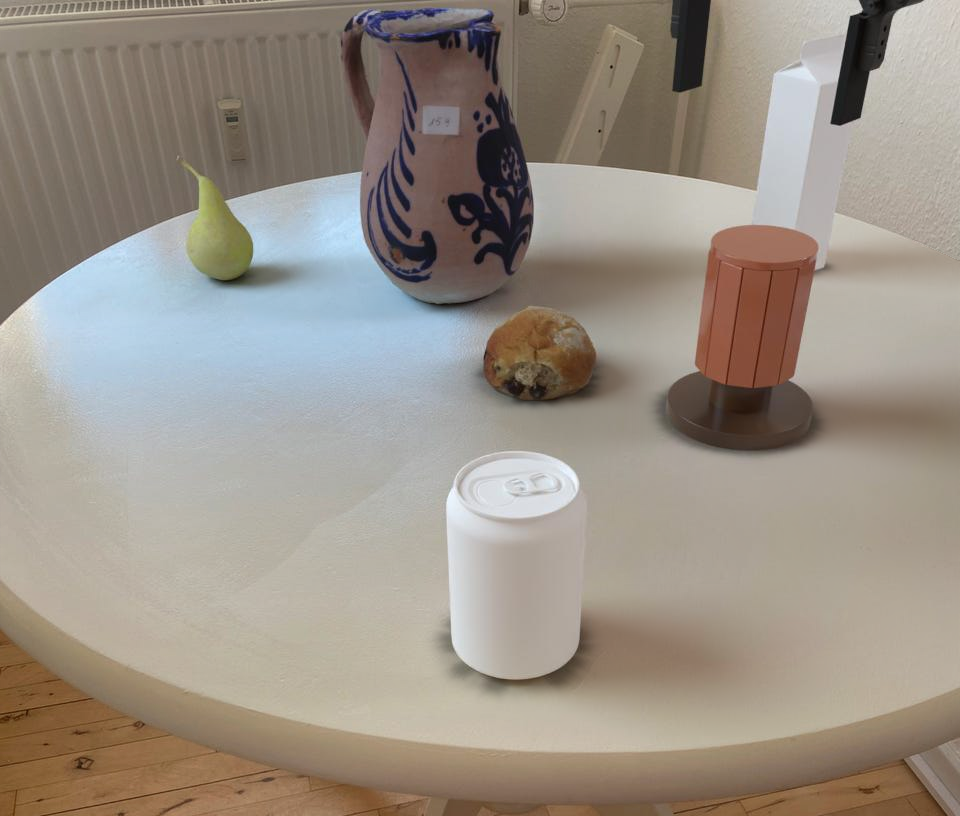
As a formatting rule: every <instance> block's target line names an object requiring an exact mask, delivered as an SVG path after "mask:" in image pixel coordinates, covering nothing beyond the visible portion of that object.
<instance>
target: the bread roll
mask: <svg viewBox="0 0 960 816" xmlns="http://www.w3.org/2000/svg"><path fill="white" fill-rule="evenodd" d="M596 362H597V352H596V349H595V347H594V343H593V342H592V340H591V338H590V336H589V334H588V333H587V331H586V329H585V328H584V327H583V325H582V324H581V323H579V321H577V320H576V319H575V318H574V317H573V316H571V315H570V314H568V313H567V312H564V311H562V310H560V309H558V308H557V309H556V308H553V307H546V306H538V305H528V306H527V307H525V308H524V309H523V310H519V311H518V312H516V313H514V314H512V315H511V316H509V317H508V318H507V319H506V320H504V322H503V323H502V324H500V325H498V326H496V327H495V328H494V330H493V331H492V333H491V335H490V336H489V338H488V340H487V341H486V346H485V350H484V354H483V374H484V377H485V379H486V382H487V383H488V384H489V385H490V386H491V388H493V390H495V391H496V392H498V393H501V394H504V395H506V396H509V397H510V398H513V399H518V400H521V401H541V400H542V401H543V400H544V401H545V400H554V399H558V398H561V397H566V396H571V395H574V394H577V393H578V392H579V390H582V389H583V388H585V387H586V386H587V385H588V384H589V383H590V380H591V379H592V376H593V373H594V369H595V366H596Z"/></svg>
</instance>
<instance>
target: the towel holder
mask: <svg viewBox="0 0 960 816" xmlns="http://www.w3.org/2000/svg"><path fill="white" fill-rule="evenodd" d="M813 411H814V404H813V401H812V398H811V397H810V395H809V394H808V393H807V391H806V390H804V389H803V388H802V387H800V386H799V385H798V384H797V383H795V382H793V381H791V380H790V379H789V380H787V381H785V382H783V383H782V384H780V385H776V386H768V387H760V388H753V387H752V388H746V387H737V386H729V385H727V384H726V385H724V384H722V383H719V382H717V381H714V380H712V379H710V378H707V377H705V376H704V375H703V374H702V373H701V372H700V371H699V370H698V371H694V372H690V373H689V374H686V375H684V376H682V377H680V378H679V379H677V380H676V381H675V382H673V383H672V384H671V386H670V388H669V390H668V391H667V397H666V405H665V416H666V418H667V420H668V422H669V424H670V425H671V426H672V427H673V428H674V429H675V430H677V431H678V432H679V433H680V434H682V435H684V436H686V437H687V438H689V439H691V440H693V441H697V442H698V443H701V444H704V445H707V446H710V447H714V448H719V449H725V450H731V451H732V450H733V451H748V452H749V451H766V450H772V449H777V448H781V447H784V446H787V445H790V444H792V443H794V442H797V441H798V440H799V439H801V438H802V437H804V435H805V434H807V432H808V430H809V428H810V425H811V420H812V415H813Z"/></svg>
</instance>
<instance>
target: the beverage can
mask: <svg viewBox="0 0 960 816" xmlns="http://www.w3.org/2000/svg"><path fill="white" fill-rule="evenodd" d="M448 493H449V494H447V495H448V496H447V499H446V503H445V505H446V506H445V515H446V539H447V563H448V565H447V566H448V584H449V585H448V586H449V607H450V608H449V609H450V611H449V612H450V633H451V644H452V647H453V649H454V652H455V653H456V654H457V656H458V657H459V658H460V659H461V661H462V662H464V663H465V664H466V665H467V666H468V667H470V668H471V669H473V670H474V671H477V672H478V673H481V674H484V675H485V676H490V677H493V678H497V679H502V680H504V679H505V680H529V679H534V678H539V677H542V676H545V675H548V674H551V673H552V672H553V673H554V672H555V671H557V670H559V669H561V668H562V667H563V666H565V665H566V664H567V663H568V662H569V661H570V660H571V659H572V658H573V657H574V655H575V654H576V652H577V650H578V648H579V644H580V638H581V637H580V636H581V635H580V634H581V620H582V619H581V618H582V604H583V602H582V601H583V584H584V571H585V570H584V569H585V551H586V535H587V519H588V501H587V497H586V495H585V492H584V490H583V489H582V487H581V483H580V478H579V476H578V475H577V473H576V471H575V470H574V469H573V468H572V467H571V466H570V465H568V464H567V463H566V462H564V461H562V460H561V459H558V458H555V457H554V456H551V455H548V454H544V453H539V452H535V451H524V450H509V451H500V452H494V453H490V454H486V455H483V456H480V457H477V458H475V459H472V460H471V461H469V462H468V463H466V464H465V465H464V466H463V467H461V469H459V471H458V472H457V474H456V476H455V478H454V481H453V485H452V487H451V489H450V491H449V492H448Z"/></svg>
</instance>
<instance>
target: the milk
mask: <svg viewBox="0 0 960 816" xmlns="http://www.w3.org/2000/svg"><path fill="white" fill-rule="evenodd" d="M845 39H846V36H845V33H837V34H833V35H828V36H823V37H819V38H813V39H808V40H804V41H803V43H802V45H801V49H800V56H799V59H798V60H796V61H794V62H791V63H790V64H789V65H786V66H784V67H782V68H781V69H779V70H777V71H776V72H774V74H773V79H772V84H771V91H770V98H769V106H768V111H767V118H766V126H765V131H764V138H763V145H762V152H761V158H760V165H759V173H758V179H757V185H756V186H757V187H756V193H755V199H754V206H753V212H752V213H753V214H752V218H751V225H770V226H778V227H784V228H789V229H793V230H796V231H799V232H802V233H804V234H806V235H808V236H810V237H812V238H813V239H814V240H815V241H816V242H817V243H818V246H819V249H818V254H817V260H816V265H815V270H814V271H818V270H820V269H823V268H825V266H826V265H825V264H826V260H827V254H828V249H829V246H830V240H831V234H832V230H833V225H834V220H835V216H836V209H837V204H838V199H839V194H840V189H841V183H842V179H843V174H844V168H845V165H846V164H845V163H846V159H847V155H848V149H849V143H850V138H851V133H852V130H853V129H852V128H853V125H854V124H853V123H854V121H852V122H849V123H846V124H844V125H841V126H837V125H833V124H830V122H831V117H832V112H833V106H834V101H835V95H836V90H837V84H838V79H839V73H840V68H841V62H842V57H843V51H844V44H845Z"/></svg>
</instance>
